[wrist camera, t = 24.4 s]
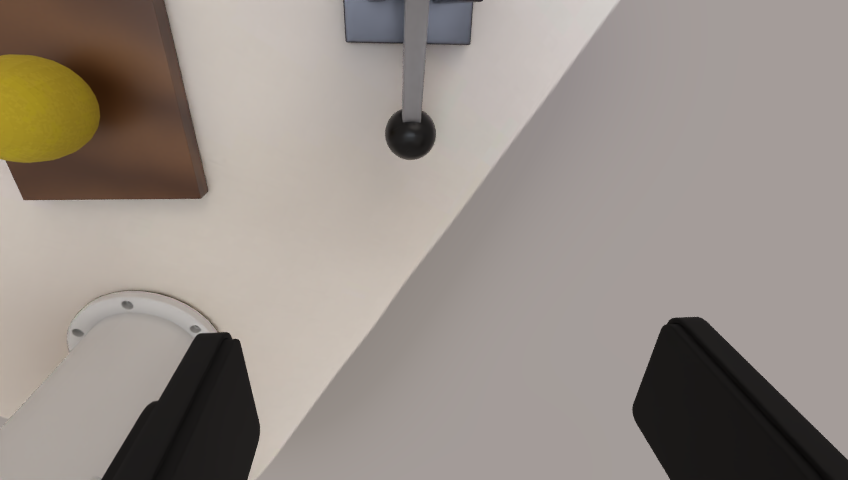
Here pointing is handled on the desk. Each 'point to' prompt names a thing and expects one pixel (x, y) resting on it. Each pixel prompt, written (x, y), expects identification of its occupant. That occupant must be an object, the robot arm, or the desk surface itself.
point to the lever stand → (384, 21)
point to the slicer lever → (412, 89)
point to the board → (111, 100)
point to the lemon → (43, 109)
